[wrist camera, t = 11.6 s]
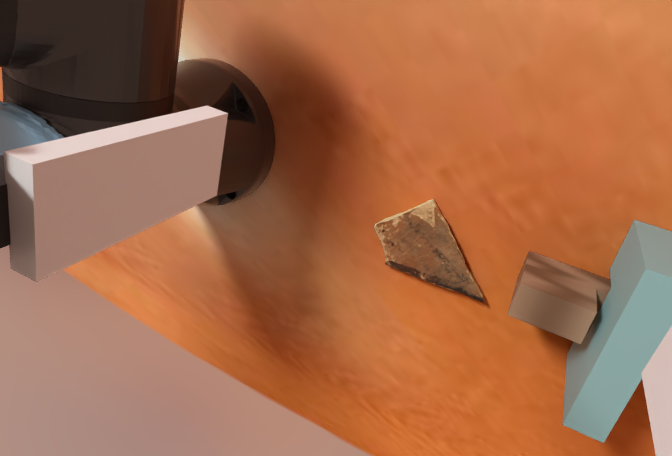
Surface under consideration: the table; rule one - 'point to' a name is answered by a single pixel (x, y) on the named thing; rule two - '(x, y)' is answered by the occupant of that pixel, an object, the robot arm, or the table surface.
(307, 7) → the table surface
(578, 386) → the teal board
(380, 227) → the shard
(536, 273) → the walnut board
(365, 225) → the table surface
